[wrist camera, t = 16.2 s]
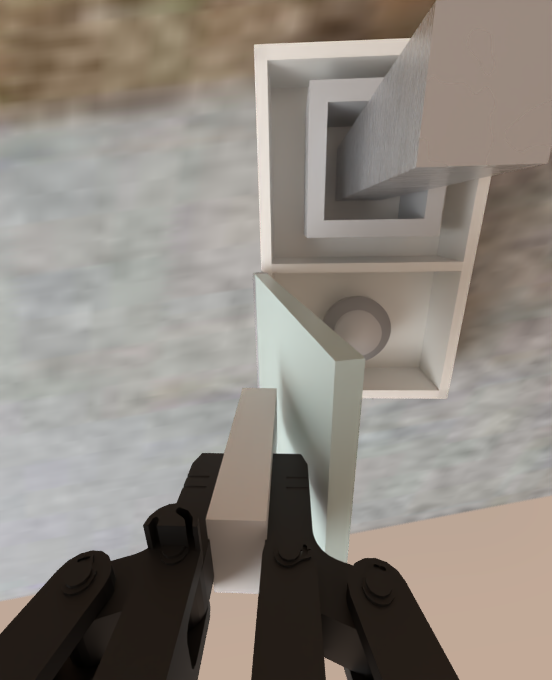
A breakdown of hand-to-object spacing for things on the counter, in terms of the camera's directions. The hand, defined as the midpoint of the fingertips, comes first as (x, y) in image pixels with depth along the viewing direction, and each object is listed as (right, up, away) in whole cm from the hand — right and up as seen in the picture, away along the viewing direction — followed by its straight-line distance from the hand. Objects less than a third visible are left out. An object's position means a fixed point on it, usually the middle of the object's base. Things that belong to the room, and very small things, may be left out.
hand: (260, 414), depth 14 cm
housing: (+7, +11, +11) cm, 17 cm away
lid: (+2, +1, +2) cm, 3 cm away
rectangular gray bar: (+7, +15, +9) cm, 19 cm away
